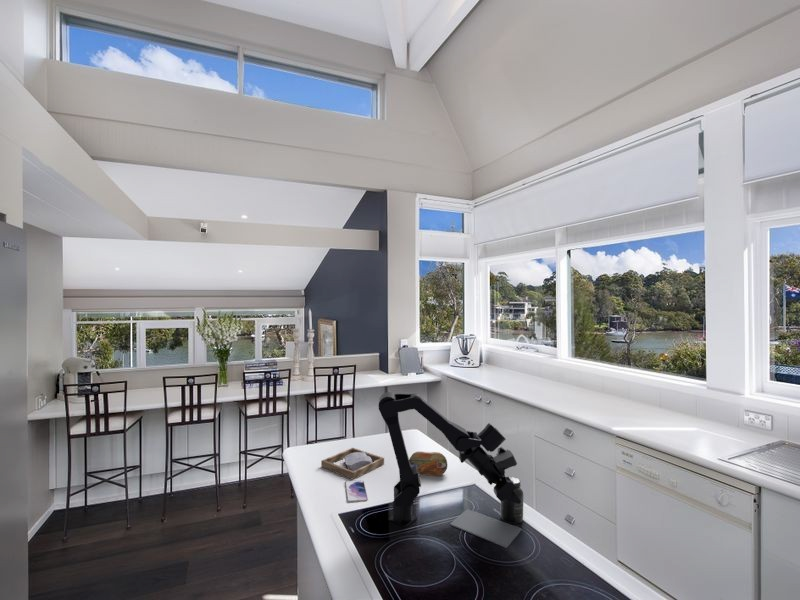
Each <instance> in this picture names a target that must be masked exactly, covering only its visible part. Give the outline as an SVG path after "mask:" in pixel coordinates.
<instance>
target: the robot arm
mask: <svg viewBox="0 0 800 600" xmlns="http://www.w3.org/2000/svg"><path fill="white" fill-rule="evenodd" d="M409 410H410V411H411V410H415V411H416V412H417V413H418V414H419V415H421V416H422V417H423V418H424V419H426V420H427V421H428V422H429V423H430V424H431V425H433V426H434V427H436V429H438V430H439V432H441V433H442V434H443V435H444V436H445V438H446V439H447V440H448V442H449V443H450V444H451V445H452V446H453V448H454V449H455V450H456V451H458V453H459V454H458V455H459V457H458V458H459V462H460V463H464V462H465V461H468V462H469V463H470V464H471V465H472V466H473V468H475V469H476V470H477V471H478V474H479V475H480V476H483V478H485V479H486V481H487V483H488V484H489V485H490V486H492V485H494V484H495V485H494V486H493V493H494V495H495V497H496V498H497V499H498V501H500V502H501V501H503V500H504V499H505V500H508V501H511V502H514V503H517V504H520V503H521V500H520V499H519V497H518V496H517V494H516V493H515V491H514V490H515V489H516V486H515V484H514V483H513V481H512V480H511V479H510V478H509V477H510V476H506V475H505V474H506V470H508V469H510V468H512V467H516V466H517V465H518V462H517V460H516V458H515V456H514V455H515V454H513V452H512V451H511V450H510V449H505V448H503V447H502V446H501V447H500V445H502V443H504V442H505V441H506V440H507V439H506V437H505V436H504V435H503V434H502V433H501V431H499V429H497V427H495V426H493V425H492V424H491V423H490V422H489V423H487V424H486V425H485V427H484V428H483V429H482V430H481V431H480V432H478V433H477V432H476V431H471V430H466V428H464V427H462V426H461V425H459V424H457V423H455V422H454V421H451V420H448V419H447V418H446V417H445V416H444V415H443V414H442V413H440V412H439V411H438V410H437V409H436V408H434V407H433V406H432V404H431V405H430V404H429V403H428V402H427V401H426V400H424V398H423V397H421V395H420V394H418V393H393V392H389V391H386V392H384V393H382V394H381V395H380V397H379V398H378V411H379V413H380V415H381V417H382V419H383V421H384V423H385V424H386V427H387V429H388V432H389V436H390V437H389V438H390V441H391V444H392V448H393V451H394V455H395V456H394V457H395V460H396V463H397V467H398V472H399V481H398V482H397V483H396V484H395V485H394V486H393V501H392V515H391V516H389V518H388V520H389V522H392V523H395V524H397V525H398V526H400V527H403V528H405V527H408V526H409V525H410V524H411V523H413V522H414V521H416V520H417V519H418V516H417V515H415V514H414V500H415V499H416V498H417V497H418V496H419V494H420V491H421V490H420V488H421V487H422V483H421V477H420V476H421V475H418V472H417V466H414V467H412V465H411V464H410V461H409V459H410V457H409V454H408V450H407V446H406V444H405V439H404V436H403V432H402V428H401V425H400V421H399V418H400V417H399V413H402V412H406V411H409ZM482 447H483V448H482ZM484 449H485V450H484ZM495 450H497V454H496V455H495V456H492V454H489V453H487V452H490V453H492V452H495ZM486 451H487V452H486Z"/></svg>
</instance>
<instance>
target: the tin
mask: <svg viewBox="0 0 800 600" xmlns="http://www.w3.org/2000/svg"><path fill="white" fill-rule="evenodd" d="M409 461H410V464H411V465H412V467H414V466H417V472H418V474H420V475H419V476H433V477H434V476H437V477H439V476H442V475H444V474H445V473H446V472H447V469H448V460H447V458H446V456H445V455H444V454H443V453H441V452H438V451H437V452H436V451H415V452H414V453H412V455H411V456H410V457H409Z"/></svg>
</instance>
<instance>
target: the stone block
mask: <svg viewBox="0 0 800 600" xmlns="http://www.w3.org/2000/svg"><path fill="white" fill-rule="evenodd" d="M365 452H366V451H364V452H358V453H357V452H356V453H351V454H349V455H347V456H345V458H344V462H345V465H346V466H347V469H349V470H351V471H355V470H357V469H359V468H361V467H363V466H366V465H368V464H370V463H372V462H373V461H372V459H371V458H370V457H369V456H367V455H366V453H365Z"/></svg>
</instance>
